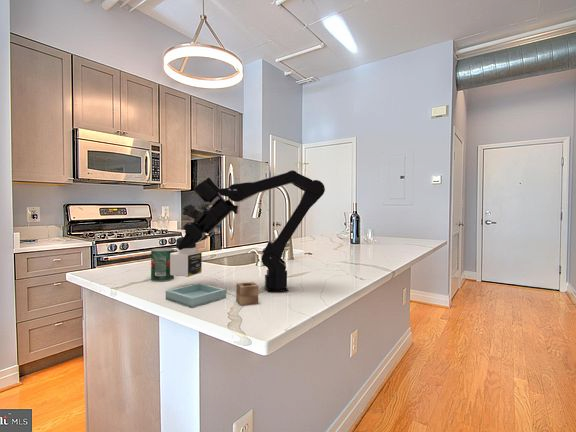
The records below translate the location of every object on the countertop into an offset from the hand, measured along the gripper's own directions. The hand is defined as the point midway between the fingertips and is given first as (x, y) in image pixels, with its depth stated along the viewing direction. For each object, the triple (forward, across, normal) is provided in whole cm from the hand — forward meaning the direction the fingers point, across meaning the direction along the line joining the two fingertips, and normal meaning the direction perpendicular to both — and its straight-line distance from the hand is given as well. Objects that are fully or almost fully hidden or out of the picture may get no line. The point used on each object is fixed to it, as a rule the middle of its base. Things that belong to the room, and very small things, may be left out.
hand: (181, 247), depth 101 cm
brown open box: (-6, +14, +26) cm, 30 cm away
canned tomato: (+17, -12, +2) cm, 21 cm away
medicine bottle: (+5, 0, +7) cm, 9 cm away
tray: (+4, +11, +15) cm, 19 cm away
